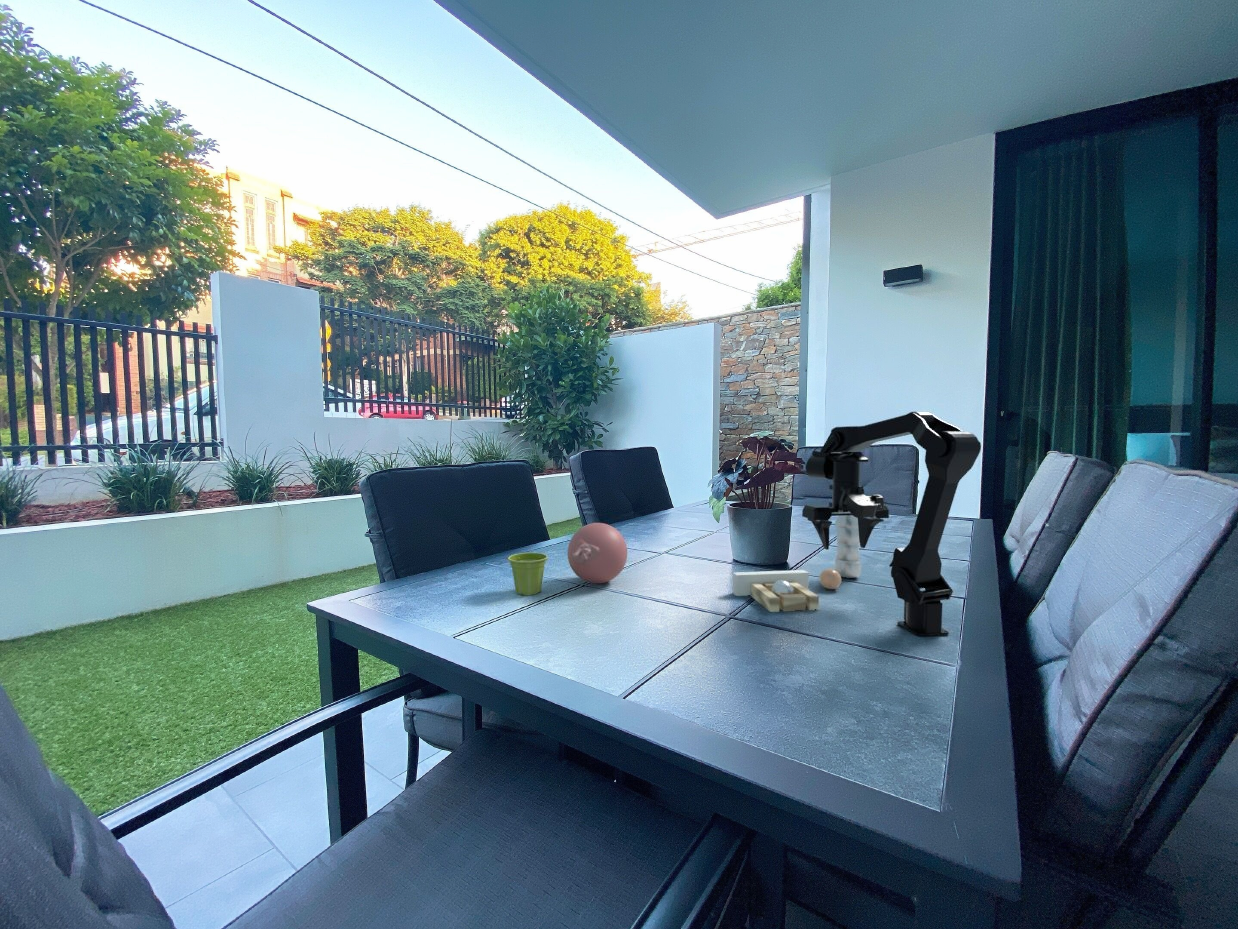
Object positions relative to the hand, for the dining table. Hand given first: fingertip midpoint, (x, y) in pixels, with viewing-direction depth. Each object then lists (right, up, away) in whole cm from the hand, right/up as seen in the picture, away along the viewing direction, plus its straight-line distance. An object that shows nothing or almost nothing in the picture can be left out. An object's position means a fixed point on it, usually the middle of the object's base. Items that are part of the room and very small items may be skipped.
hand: (844, 548), depth 119 cm
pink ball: (-59, -11, +12) cm, 61 cm away
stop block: (-16, -12, +5) cm, 20 cm away
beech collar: (-15, -12, -2) cm, 19 cm away
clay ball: (0, -9, +8) cm, 12 cm away
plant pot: (-74, -12, +6) cm, 75 cm away
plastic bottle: (+9, -11, +18) cm, 23 cm away
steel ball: (-15, -10, -2) cm, 18 cm away
